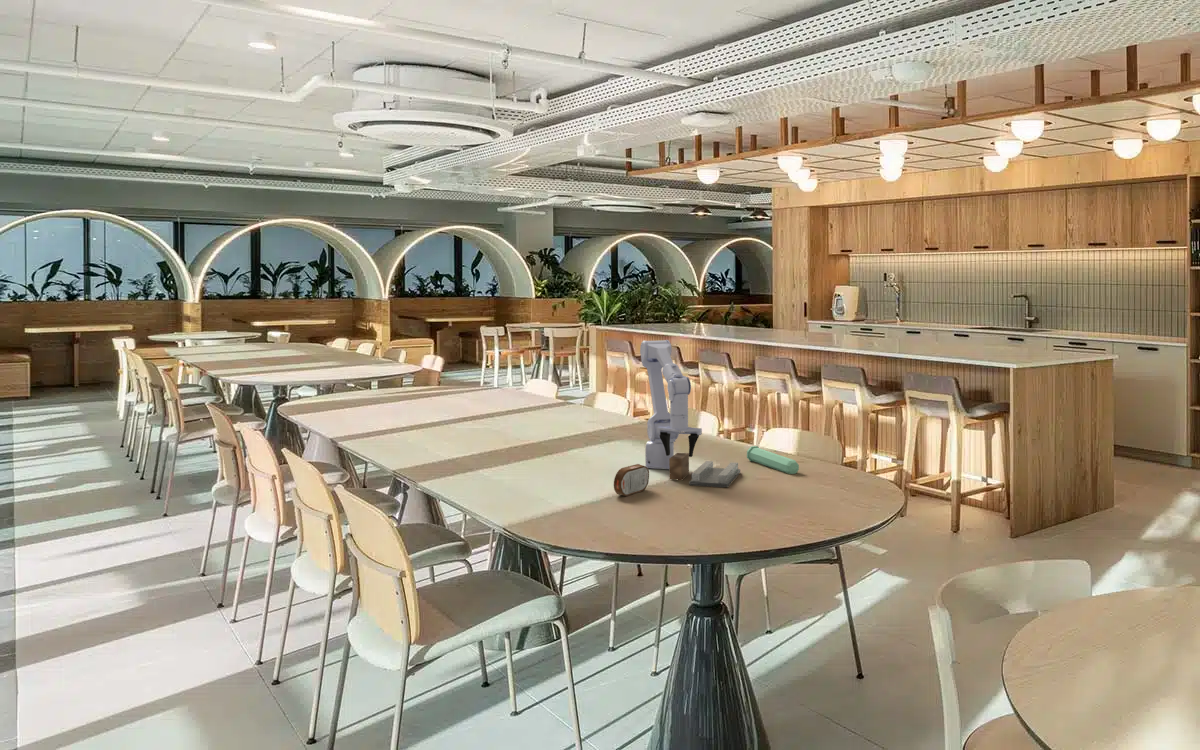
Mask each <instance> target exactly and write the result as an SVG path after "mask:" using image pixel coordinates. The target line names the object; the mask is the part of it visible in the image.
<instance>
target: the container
mask: <svg viewBox="0 0 1200 750" xmlns="http://www.w3.org/2000/svg"><path fill="white" fill-rule="evenodd" d="M746 459H747V460H748V461H750V462H753V463H754V462H755V463H757V464H760V465H763V466H765V467H768V468H771V469H774V470H777V471H780V472H782V473H785V474H787V475H796V474H797V473H798V472H799V470H800V466H799V463H798V462H797V461H796V460H795V459H793V458H789V457H787V456H784V455H780V454H778V453H774V452H771V451H768V450H765V449H762V448H760V446H758V445H752V446H750V447H749V448H748V449H747V451H746Z"/></svg>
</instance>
